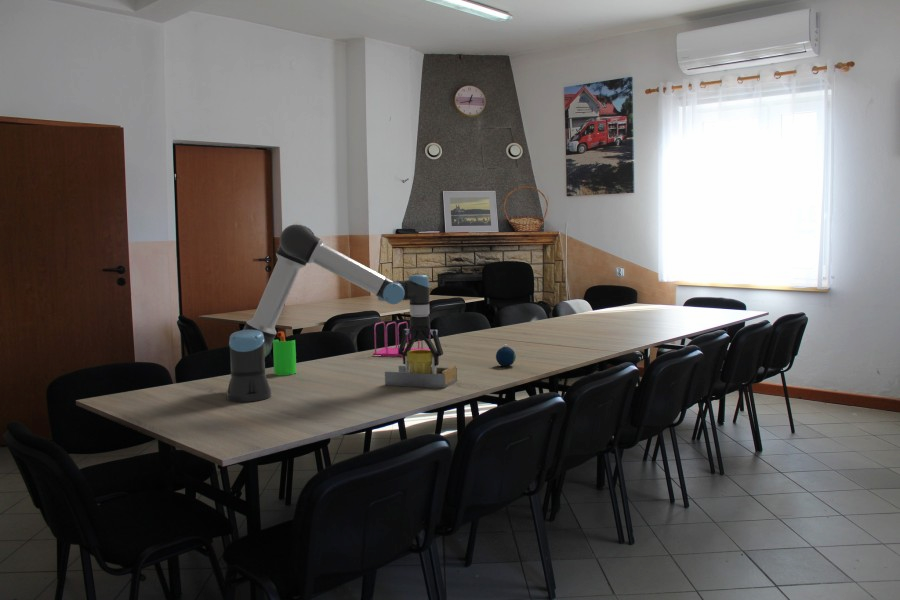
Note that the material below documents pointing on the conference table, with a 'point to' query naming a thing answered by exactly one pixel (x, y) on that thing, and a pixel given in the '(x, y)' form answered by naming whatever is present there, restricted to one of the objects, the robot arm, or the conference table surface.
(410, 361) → the plant pot
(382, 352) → the file sorter
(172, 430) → the conference table surface
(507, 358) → the christmas ornament
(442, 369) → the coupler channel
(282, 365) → the green cylindrical container
